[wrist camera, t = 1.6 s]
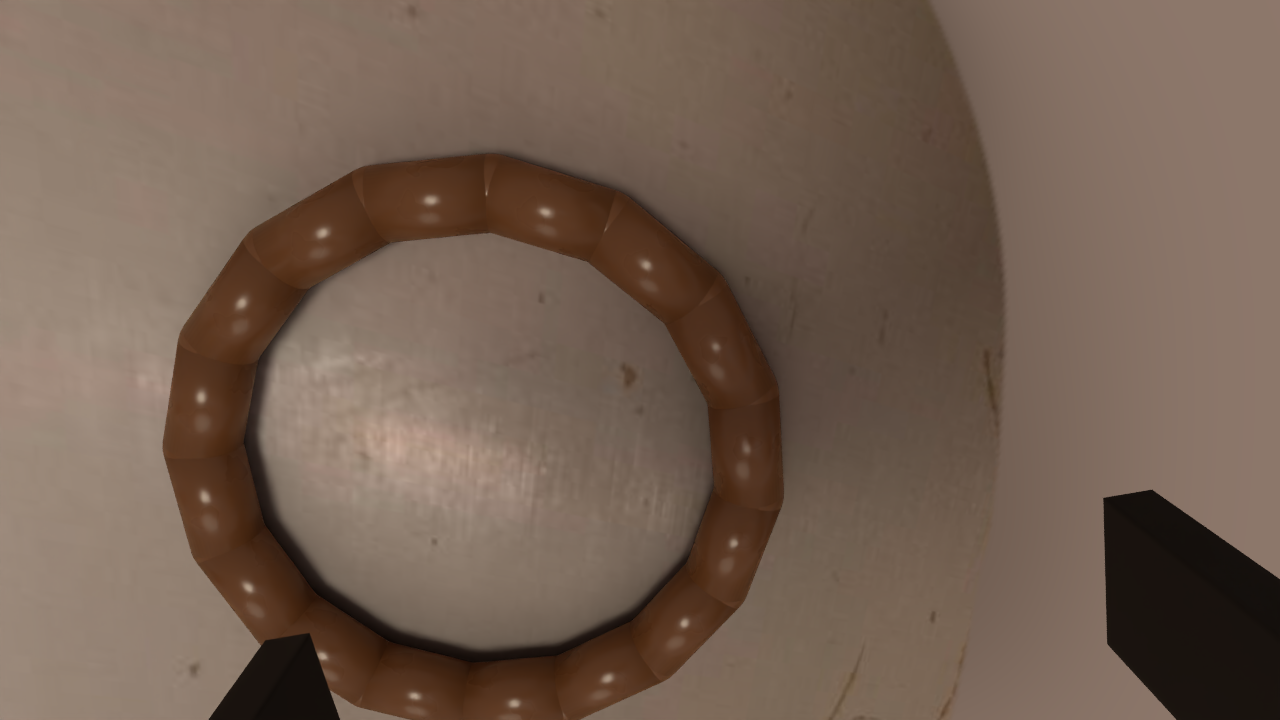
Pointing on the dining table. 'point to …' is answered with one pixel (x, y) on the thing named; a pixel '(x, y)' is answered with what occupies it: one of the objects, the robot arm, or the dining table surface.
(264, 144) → the dining table surface
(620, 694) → the ring
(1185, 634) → the robot arm
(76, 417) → the dining table surface
